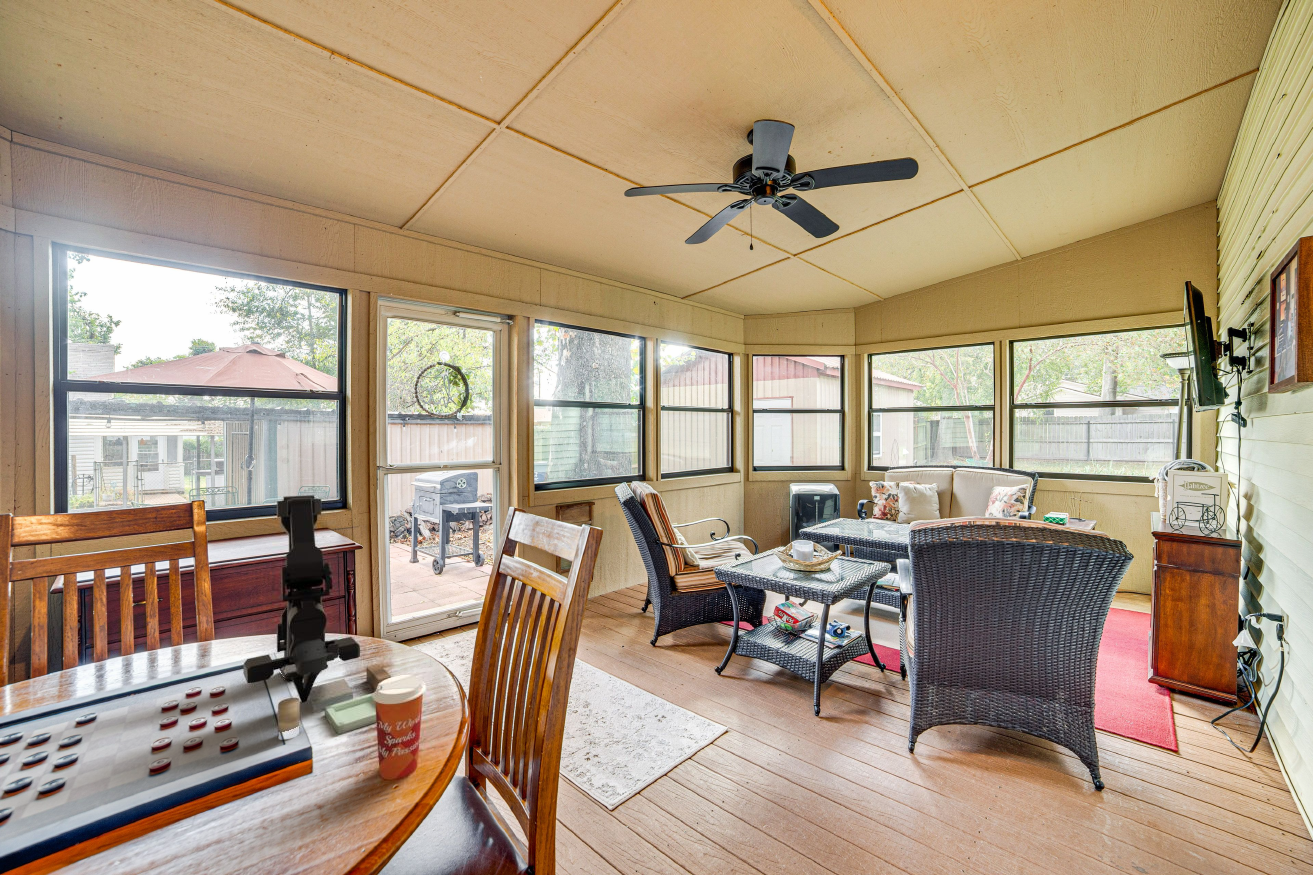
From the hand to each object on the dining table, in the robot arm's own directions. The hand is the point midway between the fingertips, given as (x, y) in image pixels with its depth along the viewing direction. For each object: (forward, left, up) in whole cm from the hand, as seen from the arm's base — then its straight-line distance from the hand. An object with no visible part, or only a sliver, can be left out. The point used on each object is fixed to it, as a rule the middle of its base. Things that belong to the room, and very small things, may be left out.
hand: (303, 701), depth 110 cm
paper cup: (+33, +7, -1) cm, 33 cm away
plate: (0, +4, -2) cm, 5 cm away
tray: (+11, +7, -1) cm, 13 cm away
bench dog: (0, +14, -1) cm, 14 cm away
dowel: (+10, -4, -1) cm, 10 cm away
